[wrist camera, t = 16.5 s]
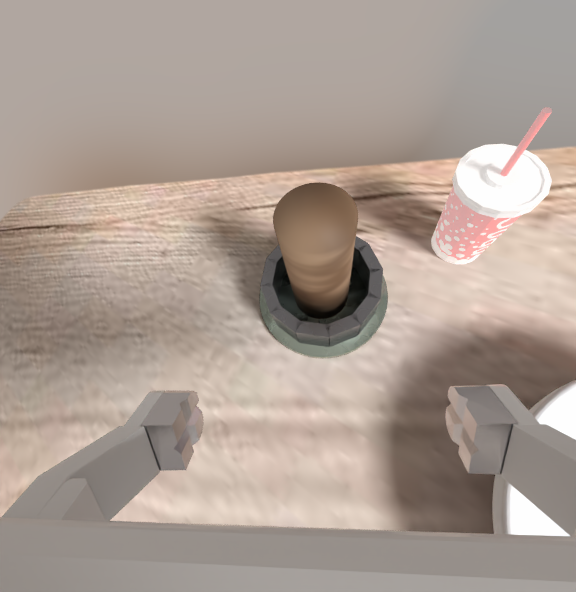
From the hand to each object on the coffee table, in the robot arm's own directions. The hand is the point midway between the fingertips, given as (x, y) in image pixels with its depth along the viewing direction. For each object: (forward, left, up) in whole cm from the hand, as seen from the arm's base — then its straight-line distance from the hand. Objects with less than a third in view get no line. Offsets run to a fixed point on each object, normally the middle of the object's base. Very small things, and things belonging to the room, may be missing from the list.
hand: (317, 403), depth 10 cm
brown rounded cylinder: (+4, +10, -17) cm, 20 cm away
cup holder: (+4, +10, -17) cm, 20 cm away
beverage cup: (+18, +10, -17) cm, 27 cm away
